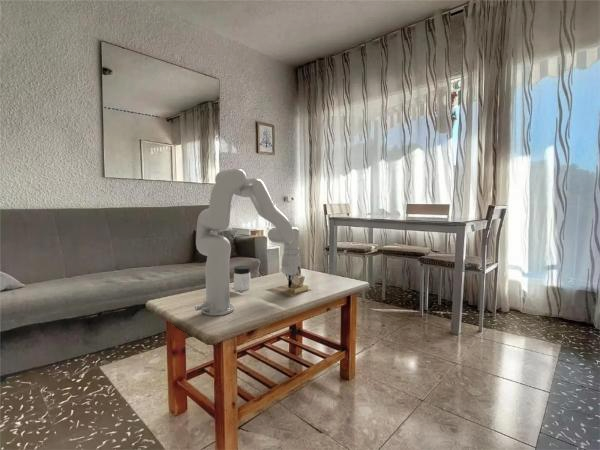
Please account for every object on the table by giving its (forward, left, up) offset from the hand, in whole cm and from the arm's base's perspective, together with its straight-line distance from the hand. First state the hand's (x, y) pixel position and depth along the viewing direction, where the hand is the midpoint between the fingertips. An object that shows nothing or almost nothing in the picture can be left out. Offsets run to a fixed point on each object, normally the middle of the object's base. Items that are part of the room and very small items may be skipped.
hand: (291, 288), depth 156 cm
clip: (0, -4, -1) cm, 4 cm away
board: (-2, 0, -2) cm, 2 cm away
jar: (-16, +20, -2) cm, 26 cm away
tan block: (0, -3, 0) cm, 3 cm away
